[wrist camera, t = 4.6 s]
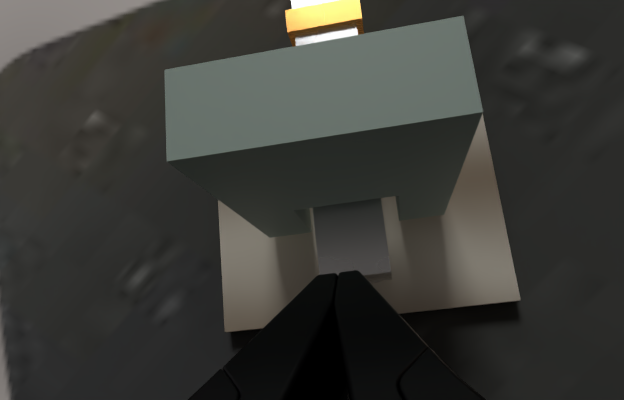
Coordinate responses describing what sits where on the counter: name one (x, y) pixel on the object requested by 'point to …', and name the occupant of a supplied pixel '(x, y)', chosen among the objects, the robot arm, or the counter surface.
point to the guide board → (401, 246)
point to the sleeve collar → (328, 124)
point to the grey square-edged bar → (354, 215)
